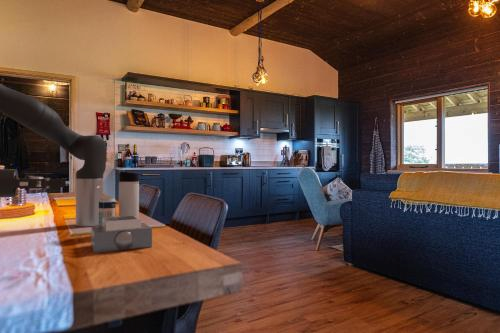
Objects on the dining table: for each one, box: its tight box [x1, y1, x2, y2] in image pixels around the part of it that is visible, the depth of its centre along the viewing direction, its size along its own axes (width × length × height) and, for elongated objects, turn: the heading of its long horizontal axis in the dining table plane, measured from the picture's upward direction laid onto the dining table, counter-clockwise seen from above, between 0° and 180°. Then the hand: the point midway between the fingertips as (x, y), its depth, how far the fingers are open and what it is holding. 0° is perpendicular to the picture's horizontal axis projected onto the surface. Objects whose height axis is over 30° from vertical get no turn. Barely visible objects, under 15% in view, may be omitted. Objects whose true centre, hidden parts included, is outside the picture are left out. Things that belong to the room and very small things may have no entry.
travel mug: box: [118, 171, 140, 218], centre depth 110 cm, size 6×7×20 cm
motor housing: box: [90, 215, 153, 254], centre depth 90 cm, size 11×14×8 cm
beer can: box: [98, 196, 117, 226], centre depth 101 cm, size 5×5×12 cm
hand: (65, 182), depth 96 cm, fingers open, 8 cm apart
